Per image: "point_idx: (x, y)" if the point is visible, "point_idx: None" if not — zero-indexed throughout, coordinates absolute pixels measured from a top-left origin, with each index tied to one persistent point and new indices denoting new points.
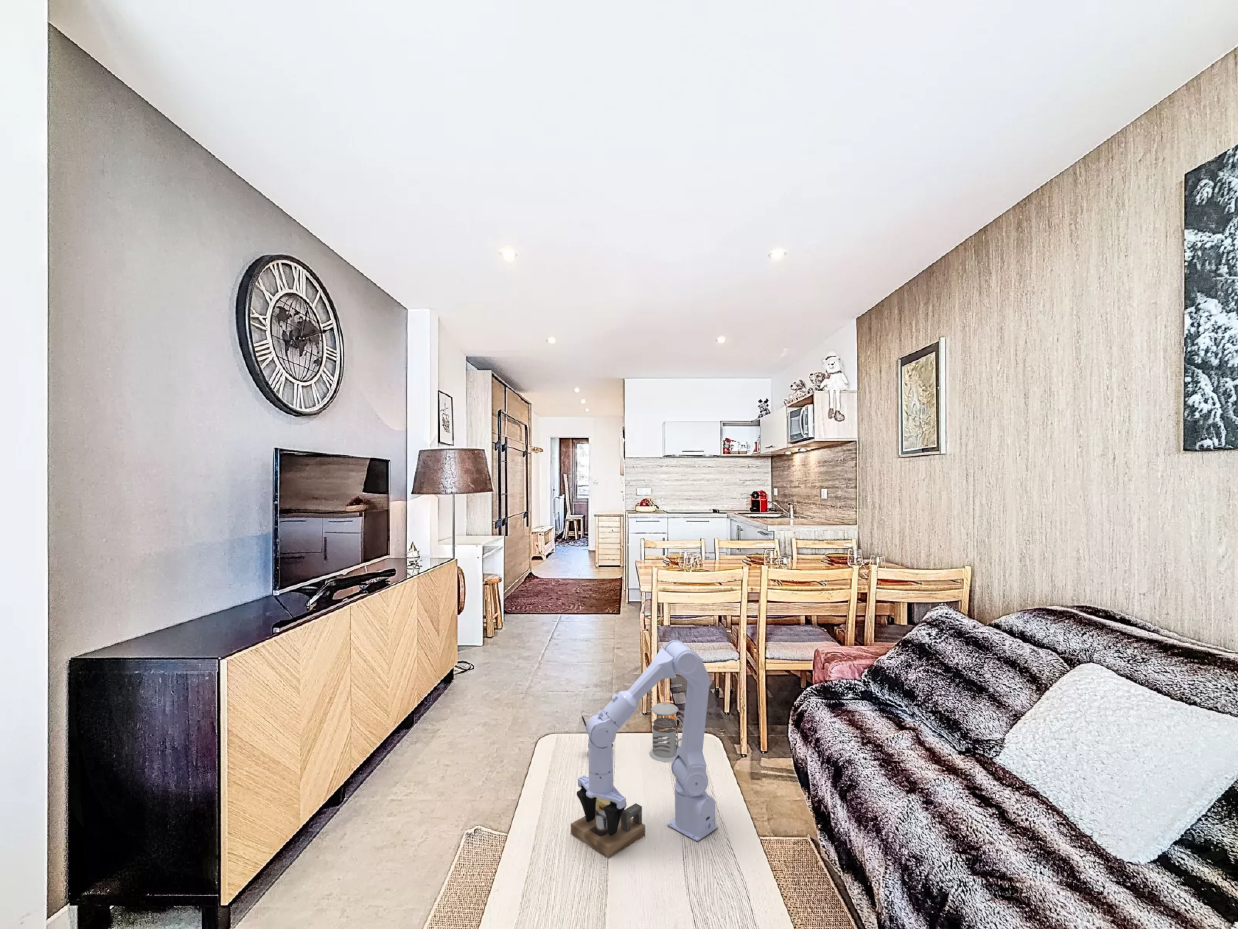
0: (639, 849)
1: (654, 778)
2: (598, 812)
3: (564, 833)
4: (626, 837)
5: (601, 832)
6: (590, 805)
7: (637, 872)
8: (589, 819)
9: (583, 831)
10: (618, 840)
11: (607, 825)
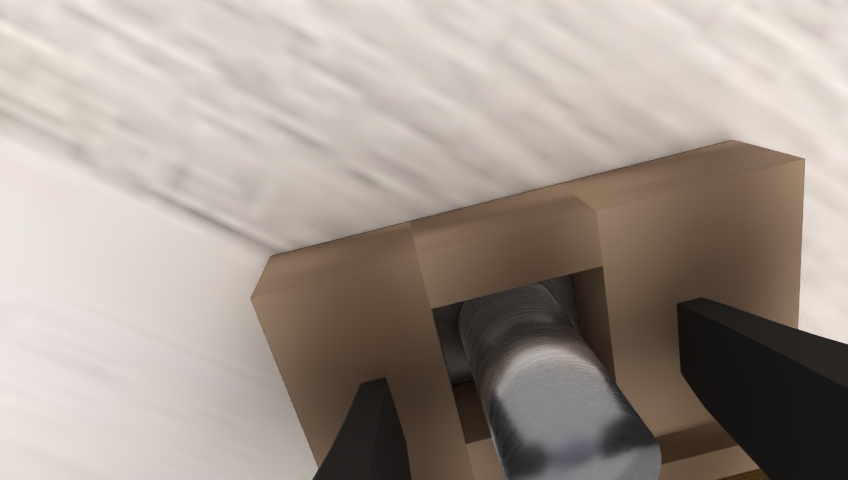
0: (265, 476)
1: None
2: (641, 455)
3: (780, 96)
4: None
5: (488, 341)
6: (803, 441)
7: (10, 361)
8: (692, 329)
9: (610, 209)
10: (302, 412)
11: (372, 436)
